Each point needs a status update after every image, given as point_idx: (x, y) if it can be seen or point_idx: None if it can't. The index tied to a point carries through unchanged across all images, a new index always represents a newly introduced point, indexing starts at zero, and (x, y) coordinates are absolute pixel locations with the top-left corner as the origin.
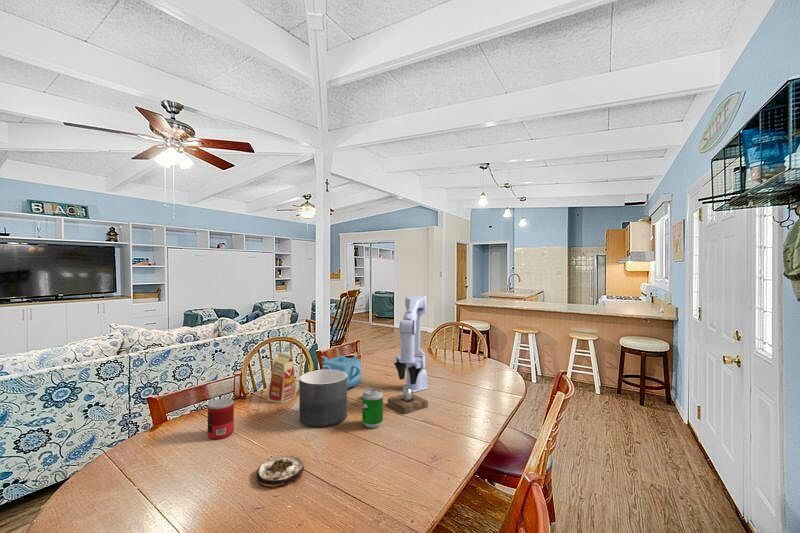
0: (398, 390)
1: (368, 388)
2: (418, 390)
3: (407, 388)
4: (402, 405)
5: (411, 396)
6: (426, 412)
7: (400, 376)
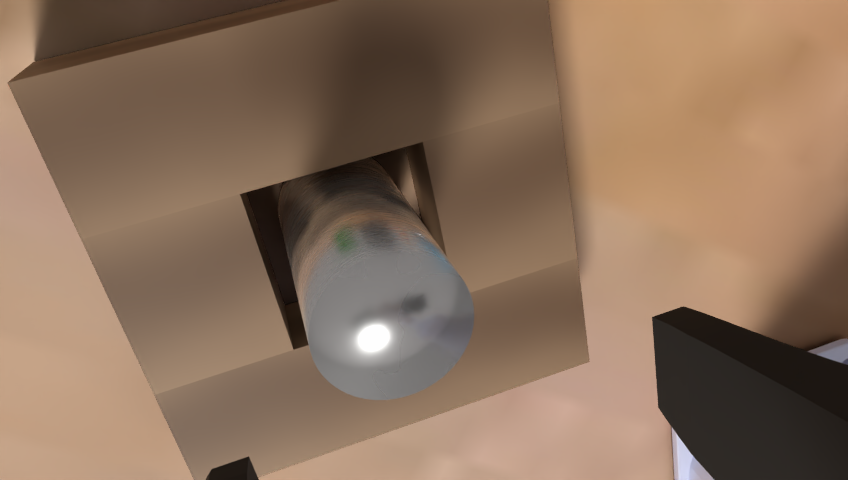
0: (819, 269)
1: None
2: (677, 468)
3: (418, 341)
4: (136, 79)
5: None
6: (24, 373)
7: (700, 359)
